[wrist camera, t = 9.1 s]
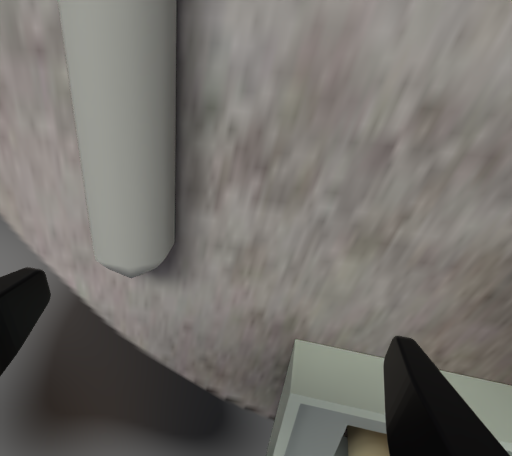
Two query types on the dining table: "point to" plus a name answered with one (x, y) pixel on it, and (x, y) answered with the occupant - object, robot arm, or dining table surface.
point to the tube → (125, 125)
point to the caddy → (359, 401)
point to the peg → (366, 442)
